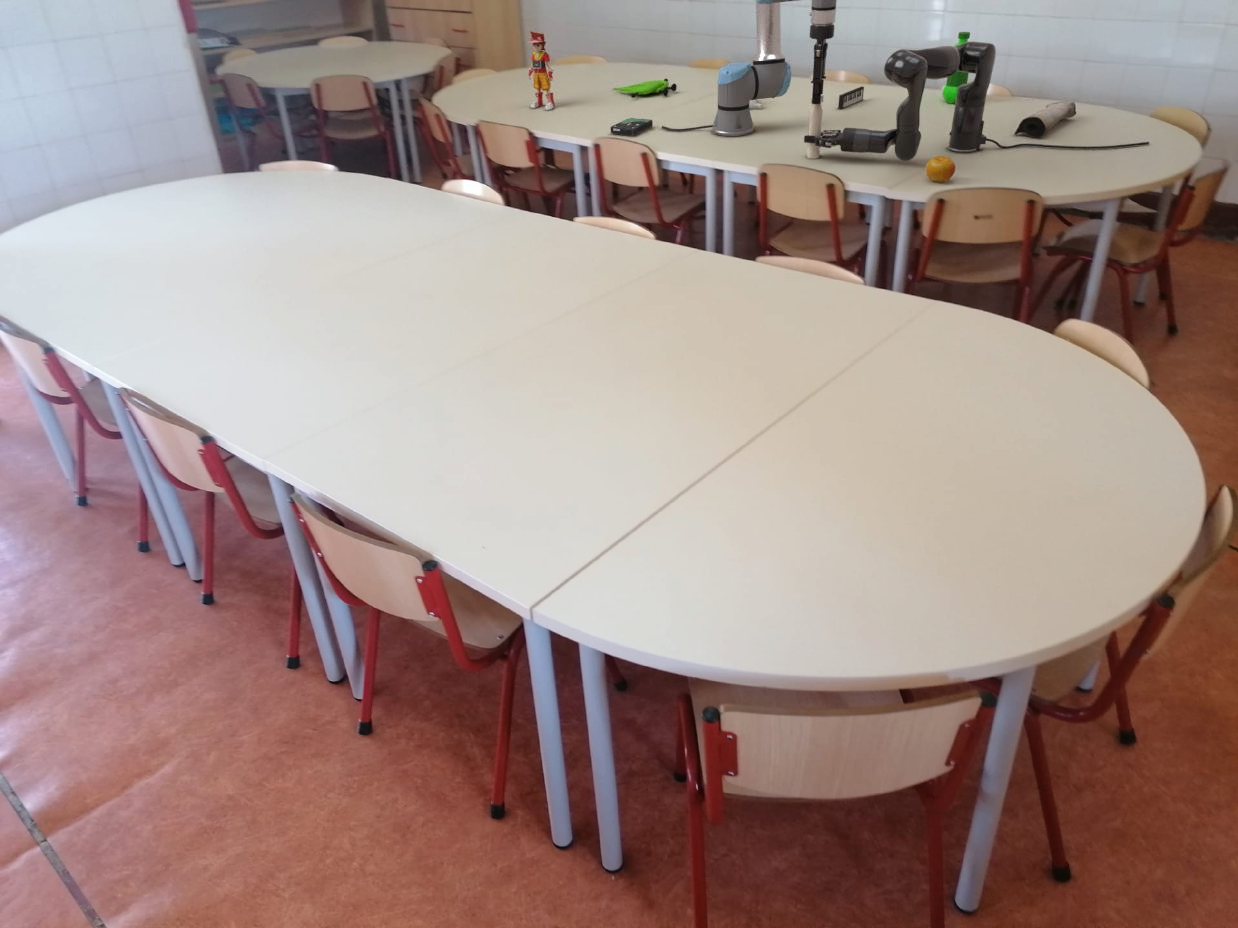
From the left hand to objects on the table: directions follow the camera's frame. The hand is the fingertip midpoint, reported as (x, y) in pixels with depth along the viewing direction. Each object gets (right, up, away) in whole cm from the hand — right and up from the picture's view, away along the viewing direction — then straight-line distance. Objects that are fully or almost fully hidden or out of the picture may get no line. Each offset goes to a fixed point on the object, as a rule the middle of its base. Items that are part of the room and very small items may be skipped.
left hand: (817, 102), depth 295 cm
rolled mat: (+87, +1, +24) cm, 90 cm away
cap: (0, +2, -1) cm, 2 cm away
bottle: (+1, -15, +10) cm, 18 cm away
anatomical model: (-13, +28, +72) cm, 78 cm away
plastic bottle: (+68, +24, +60) cm, 93 cm away
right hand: (-2, -9, +8) cm, 12 cm away
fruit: (+34, -31, -17) cm, 49 cm away
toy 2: (-56, +46, +102) cm, 125 cm away
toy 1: (-98, +33, +88) cm, 136 cm away
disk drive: (-60, +9, +50) cm, 79 cm away
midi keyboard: (+28, +25, +65) cm, 75 cm away
